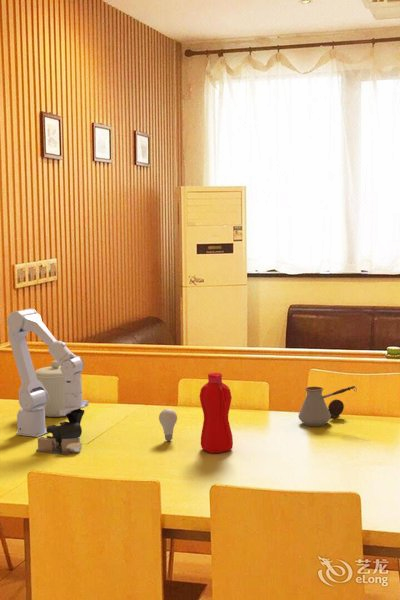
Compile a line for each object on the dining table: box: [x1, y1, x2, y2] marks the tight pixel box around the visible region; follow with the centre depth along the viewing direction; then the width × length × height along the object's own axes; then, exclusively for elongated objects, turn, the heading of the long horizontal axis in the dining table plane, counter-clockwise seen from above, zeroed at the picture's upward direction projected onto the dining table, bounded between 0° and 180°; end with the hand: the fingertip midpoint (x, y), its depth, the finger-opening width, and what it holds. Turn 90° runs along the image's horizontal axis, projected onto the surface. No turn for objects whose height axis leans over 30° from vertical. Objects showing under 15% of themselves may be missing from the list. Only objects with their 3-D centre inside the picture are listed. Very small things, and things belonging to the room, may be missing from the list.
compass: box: [327, 398, 345, 419], centre depth 295 cm, size 8×8×7 cm
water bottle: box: [199, 372, 234, 454], centre depth 256 cm, size 9×11×25 cm
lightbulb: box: [158, 408, 178, 442], centre depth 269 cm, size 6×6×11 cm
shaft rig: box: [35, 436, 83, 456], centre depth 261 cm, size 14×6×4 cm, turn 64°
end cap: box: [46, 420, 83, 447], centre depth 270 cm, size 10×7×7 cm
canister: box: [35, 359, 66, 418], centre depth 309 cm, size 18×18×21 cm
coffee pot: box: [297, 385, 358, 427], centre depth 283 cm, size 21×12×15 cm, turn 59°
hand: (75, 431), depth 276 cm, fingers closed
